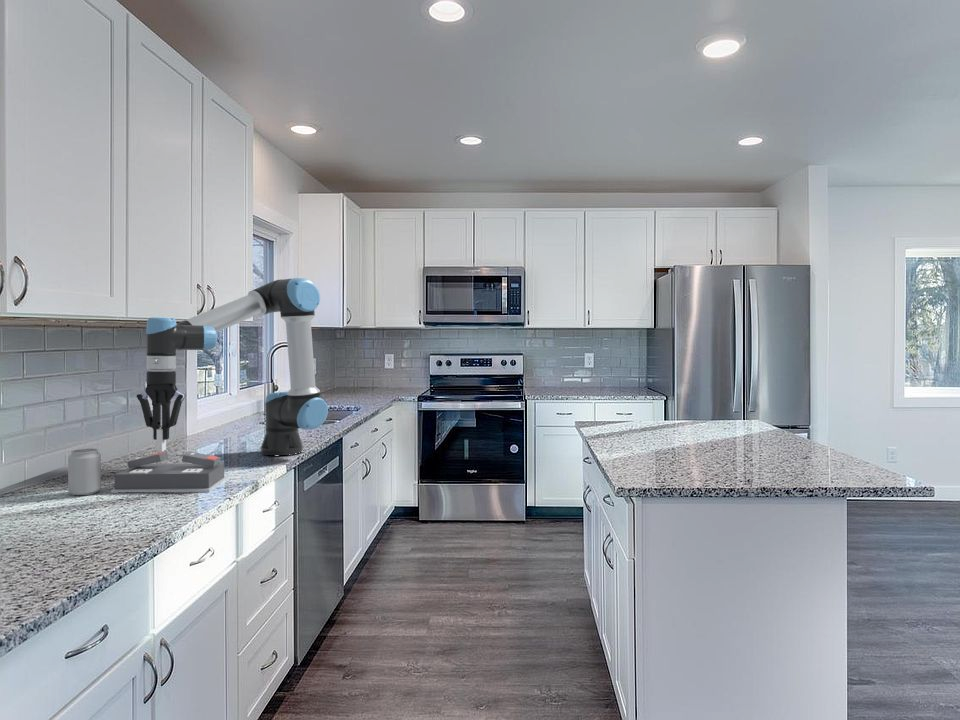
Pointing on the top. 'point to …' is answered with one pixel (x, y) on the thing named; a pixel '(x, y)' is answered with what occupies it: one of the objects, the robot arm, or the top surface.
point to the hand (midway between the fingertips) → (161, 450)
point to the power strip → (169, 478)
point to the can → (84, 472)
